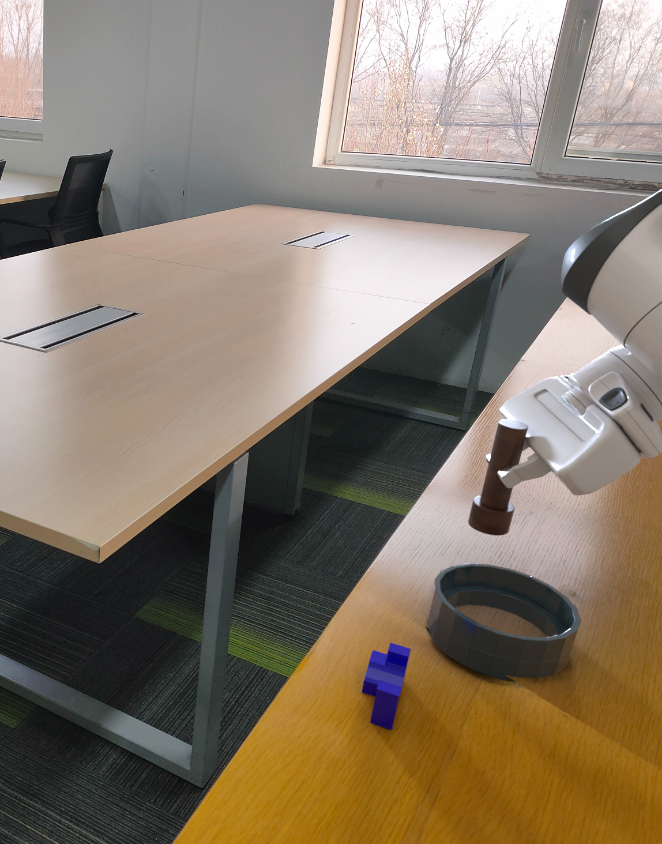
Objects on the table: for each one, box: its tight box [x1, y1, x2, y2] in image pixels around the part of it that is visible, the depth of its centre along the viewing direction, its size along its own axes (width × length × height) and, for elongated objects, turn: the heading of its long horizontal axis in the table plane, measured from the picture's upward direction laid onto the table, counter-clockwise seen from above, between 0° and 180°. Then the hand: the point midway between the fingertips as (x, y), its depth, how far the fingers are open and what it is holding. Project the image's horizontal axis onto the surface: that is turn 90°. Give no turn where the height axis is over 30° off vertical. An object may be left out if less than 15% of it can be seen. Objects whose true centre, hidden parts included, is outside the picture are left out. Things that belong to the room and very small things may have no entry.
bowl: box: [425, 562, 582, 683], centre depth 87 cm, size 14×14×6 cm
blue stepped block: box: [361, 642, 412, 731], centre depth 79 cm, size 8×4×4 cm, turn 153°
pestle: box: [467, 418, 528, 537], centre depth 92 cm, size 4×4×13 cm
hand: (495, 473), depth 91 cm, fingers closed on pestle, 3 cm apart
